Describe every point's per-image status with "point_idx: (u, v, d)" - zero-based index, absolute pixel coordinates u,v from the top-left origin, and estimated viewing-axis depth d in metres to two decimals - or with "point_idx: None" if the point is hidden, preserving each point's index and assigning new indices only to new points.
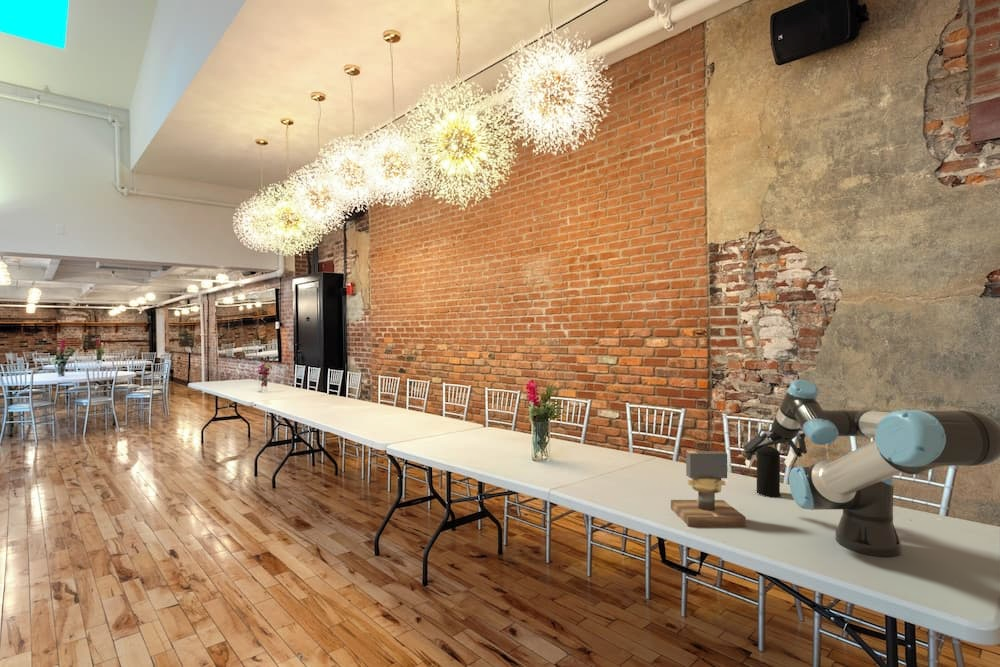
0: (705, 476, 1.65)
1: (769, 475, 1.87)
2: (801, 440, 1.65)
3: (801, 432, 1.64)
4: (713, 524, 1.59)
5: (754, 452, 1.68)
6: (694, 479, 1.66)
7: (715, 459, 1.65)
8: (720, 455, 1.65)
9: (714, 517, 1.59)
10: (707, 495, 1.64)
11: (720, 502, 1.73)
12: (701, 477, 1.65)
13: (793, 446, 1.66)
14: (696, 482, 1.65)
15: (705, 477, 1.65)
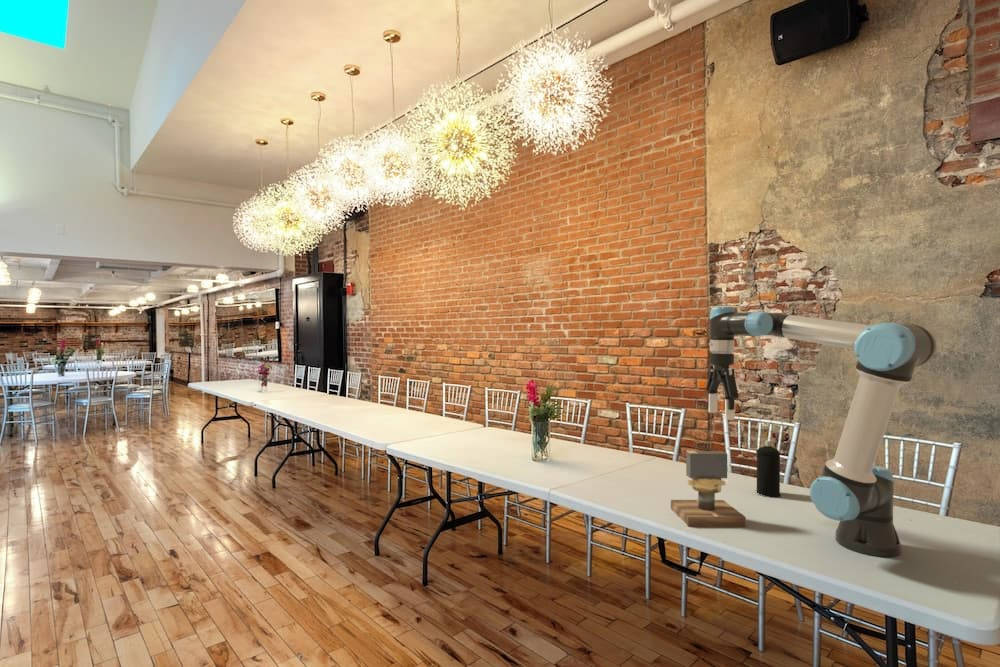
0: (705, 476, 1.65)
1: (769, 475, 1.87)
2: None
3: None
4: (713, 524, 1.59)
5: None
6: (694, 479, 1.66)
7: (715, 459, 1.65)
8: (720, 455, 1.65)
9: (714, 517, 1.59)
10: (707, 495, 1.64)
11: (720, 502, 1.73)
12: (701, 477, 1.65)
13: None
14: (696, 482, 1.65)
15: (705, 477, 1.65)
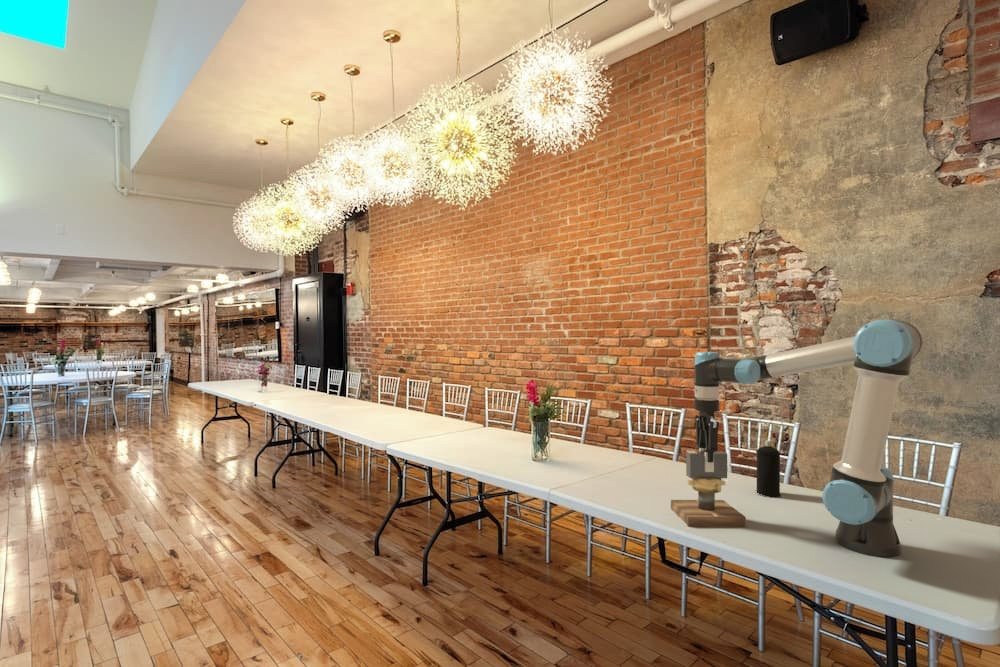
0: (705, 476, 1.65)
1: (769, 475, 1.87)
2: None
3: None
4: (713, 524, 1.59)
5: None
6: (694, 479, 1.66)
7: (715, 459, 1.65)
8: (720, 455, 1.65)
9: (714, 517, 1.59)
10: (707, 495, 1.64)
11: (720, 502, 1.73)
12: (701, 477, 1.65)
13: None
14: (696, 482, 1.65)
15: (705, 477, 1.65)
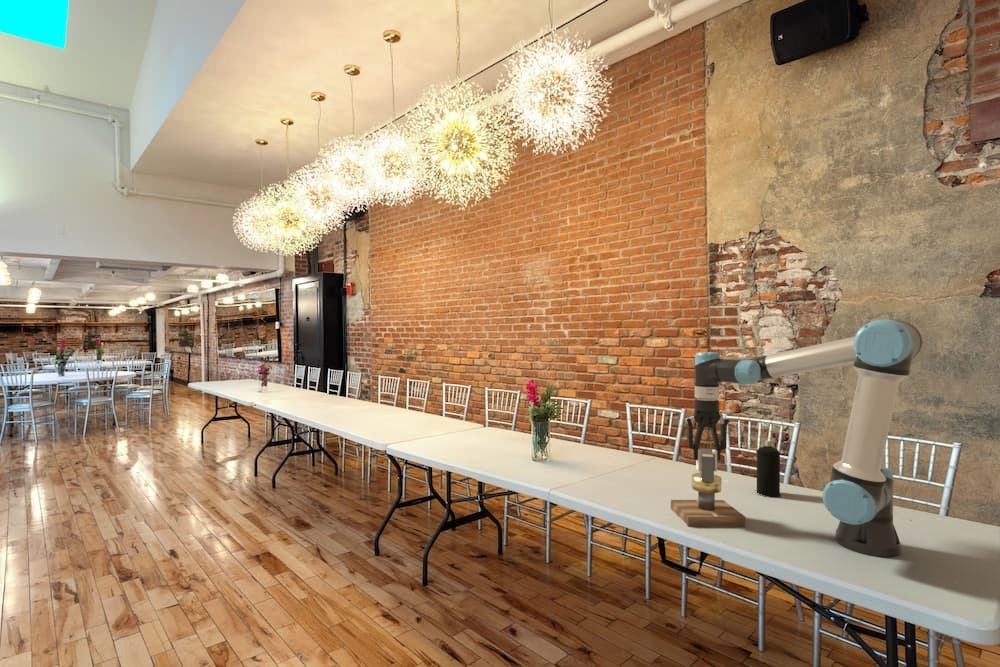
0: None
1: (769, 475, 1.87)
2: None
3: None
4: (713, 524, 1.59)
5: None
6: (710, 482, 1.62)
7: None
8: (711, 451, 1.70)
9: (714, 517, 1.59)
10: (707, 495, 1.64)
11: (720, 502, 1.73)
12: None
13: None
14: (713, 485, 1.62)
15: None
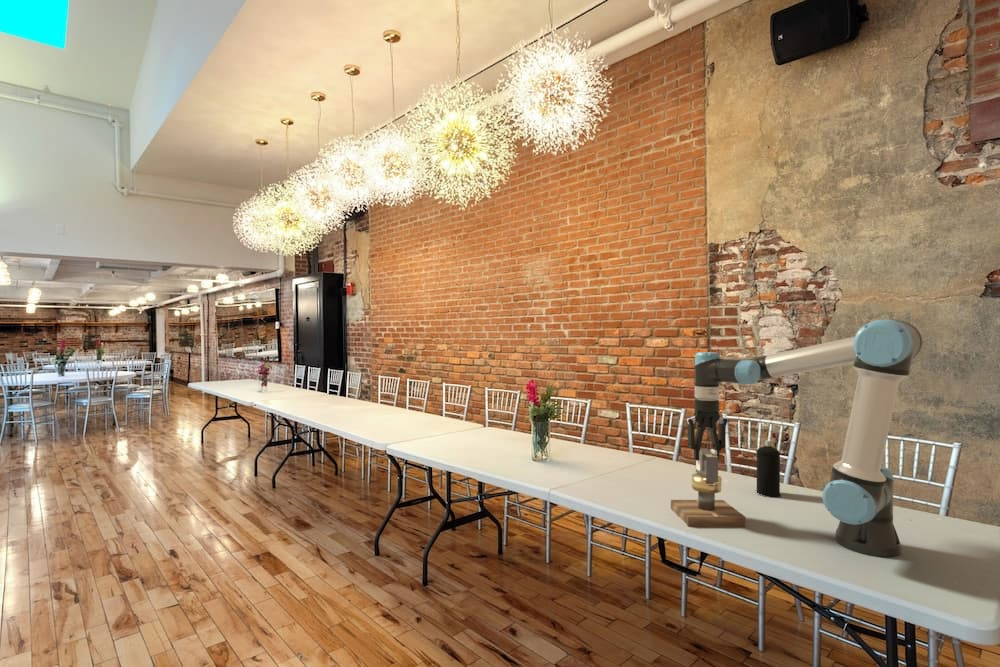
0: None
1: (769, 475, 1.87)
2: None
3: (689, 418, 1.66)
4: (713, 524, 1.59)
5: None
6: (713, 482, 1.62)
7: None
8: None
9: (714, 517, 1.59)
10: (707, 495, 1.64)
11: (720, 502, 1.73)
12: None
13: None
14: (716, 485, 1.63)
15: None
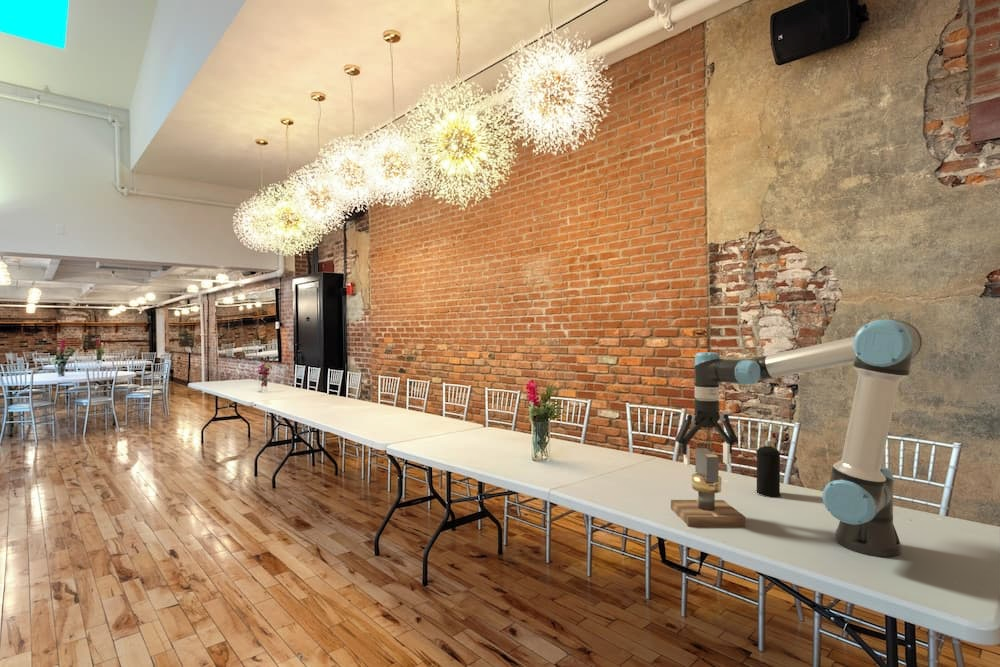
0: None
1: (769, 475, 1.87)
2: None
3: (689, 414, 1.66)
4: (713, 524, 1.59)
5: None
6: (714, 482, 1.62)
7: None
8: None
9: (714, 517, 1.59)
10: (707, 495, 1.64)
11: (720, 502, 1.73)
12: None
13: None
14: (716, 484, 1.63)
15: None
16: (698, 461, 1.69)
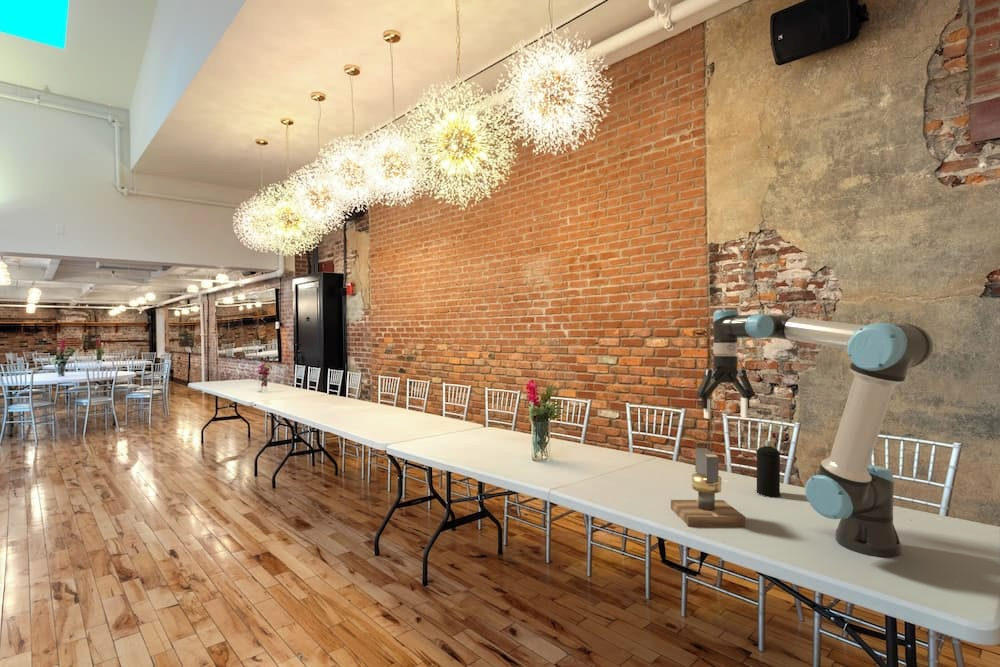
0: None
1: (769, 475, 1.87)
2: None
3: None
4: (713, 524, 1.59)
5: None
6: (714, 482, 1.62)
7: None
8: None
9: (714, 517, 1.59)
10: (707, 495, 1.64)
11: (720, 502, 1.73)
12: None
13: None
14: (716, 484, 1.63)
15: None
16: (698, 461, 1.69)
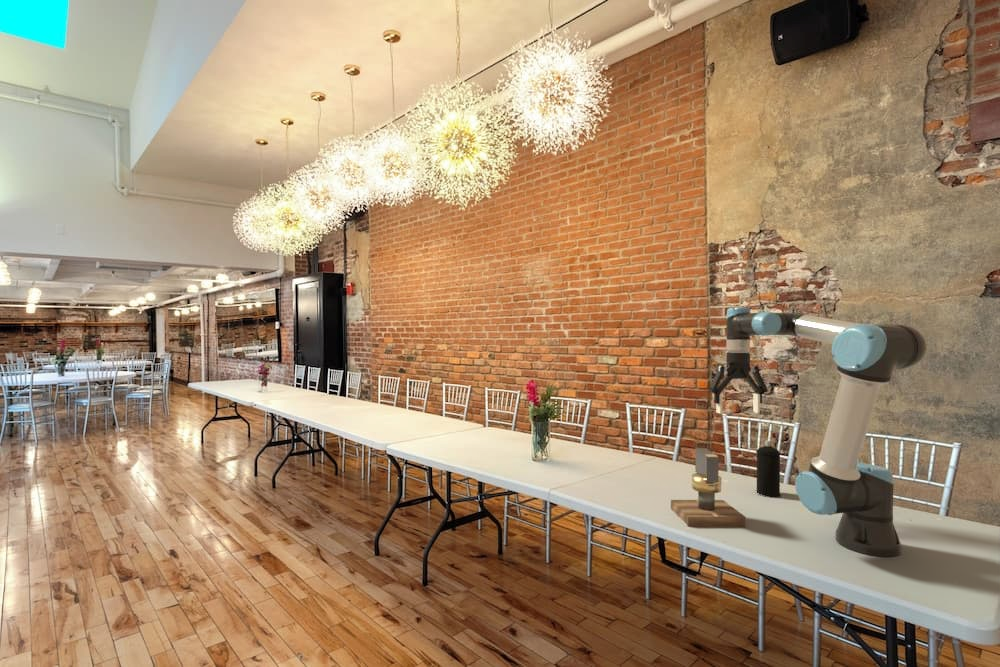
0: None
1: (769, 475, 1.87)
2: None
3: (721, 366, 1.76)
4: (713, 524, 1.59)
5: None
6: (714, 482, 1.62)
7: None
8: None
9: (714, 517, 1.59)
10: (707, 495, 1.64)
11: (720, 502, 1.73)
12: None
13: None
14: (716, 484, 1.63)
15: None
16: (698, 461, 1.69)
